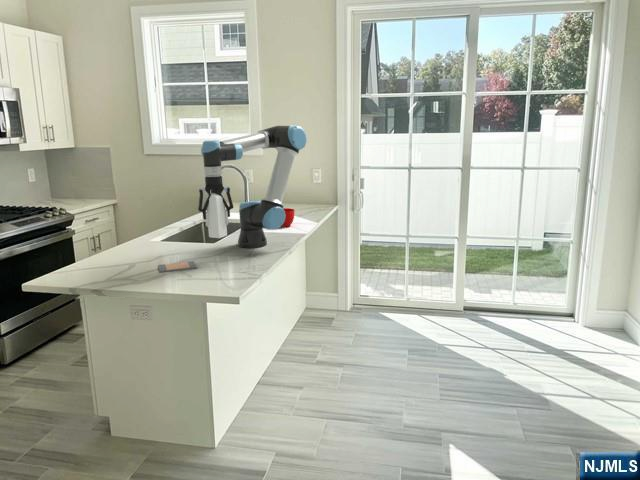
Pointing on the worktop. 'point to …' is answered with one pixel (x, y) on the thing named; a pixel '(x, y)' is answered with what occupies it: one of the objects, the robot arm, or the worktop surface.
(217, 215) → the milk
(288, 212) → the ceramic cup
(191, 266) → the board
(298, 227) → the worktop surface
